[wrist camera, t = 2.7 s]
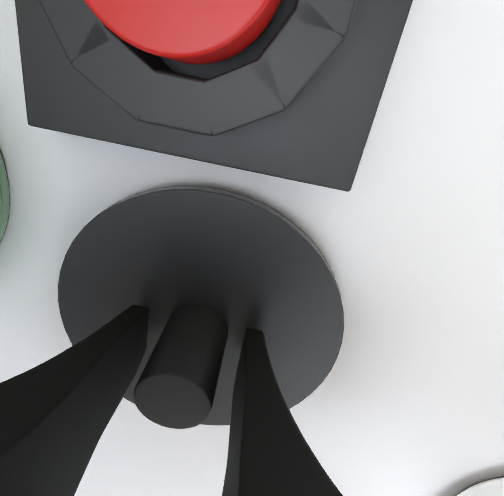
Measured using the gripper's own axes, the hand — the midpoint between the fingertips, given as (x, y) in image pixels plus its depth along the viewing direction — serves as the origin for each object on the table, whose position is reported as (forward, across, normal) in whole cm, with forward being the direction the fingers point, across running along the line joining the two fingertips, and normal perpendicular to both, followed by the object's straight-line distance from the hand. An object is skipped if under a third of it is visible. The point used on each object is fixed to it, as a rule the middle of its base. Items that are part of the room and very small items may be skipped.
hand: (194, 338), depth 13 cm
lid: (+1, 0, 0) cm, 1 cm away
